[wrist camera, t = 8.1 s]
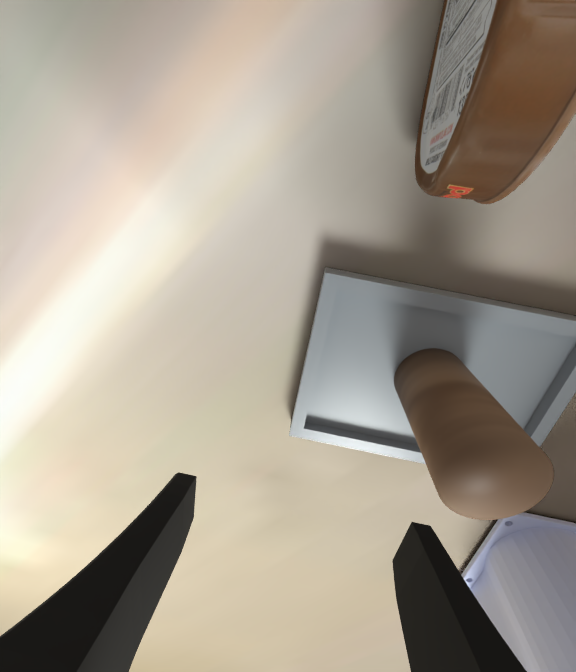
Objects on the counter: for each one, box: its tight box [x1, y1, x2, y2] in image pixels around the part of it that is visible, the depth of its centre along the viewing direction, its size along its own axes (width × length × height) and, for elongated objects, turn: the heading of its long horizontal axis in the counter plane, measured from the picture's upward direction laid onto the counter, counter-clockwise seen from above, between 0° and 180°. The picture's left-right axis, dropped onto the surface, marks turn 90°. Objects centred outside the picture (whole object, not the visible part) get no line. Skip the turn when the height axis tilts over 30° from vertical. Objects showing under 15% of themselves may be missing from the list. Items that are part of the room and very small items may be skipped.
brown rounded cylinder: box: [394, 348, 554, 520], centre depth 15 cm, size 4×4×8 cm
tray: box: [289, 267, 576, 464], centre depth 19 cm, size 11×15×2 cm
